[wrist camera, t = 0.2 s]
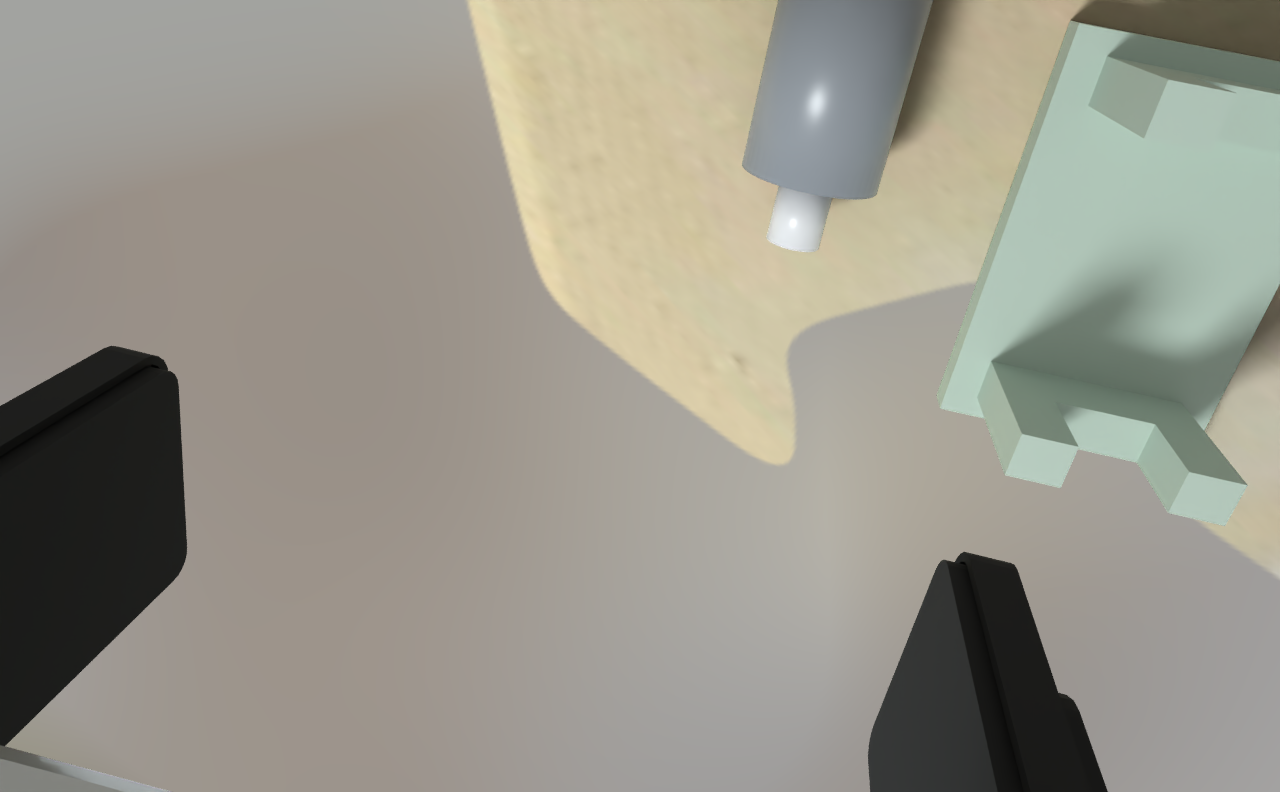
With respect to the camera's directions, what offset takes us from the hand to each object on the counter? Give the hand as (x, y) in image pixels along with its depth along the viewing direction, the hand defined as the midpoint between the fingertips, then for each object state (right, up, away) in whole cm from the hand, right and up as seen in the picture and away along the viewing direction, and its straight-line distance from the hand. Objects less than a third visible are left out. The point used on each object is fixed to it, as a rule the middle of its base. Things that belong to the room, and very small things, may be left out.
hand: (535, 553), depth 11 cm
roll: (+10, +17, +30) cm, 36 cm away
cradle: (+24, +8, +32) cm, 40 cm away
